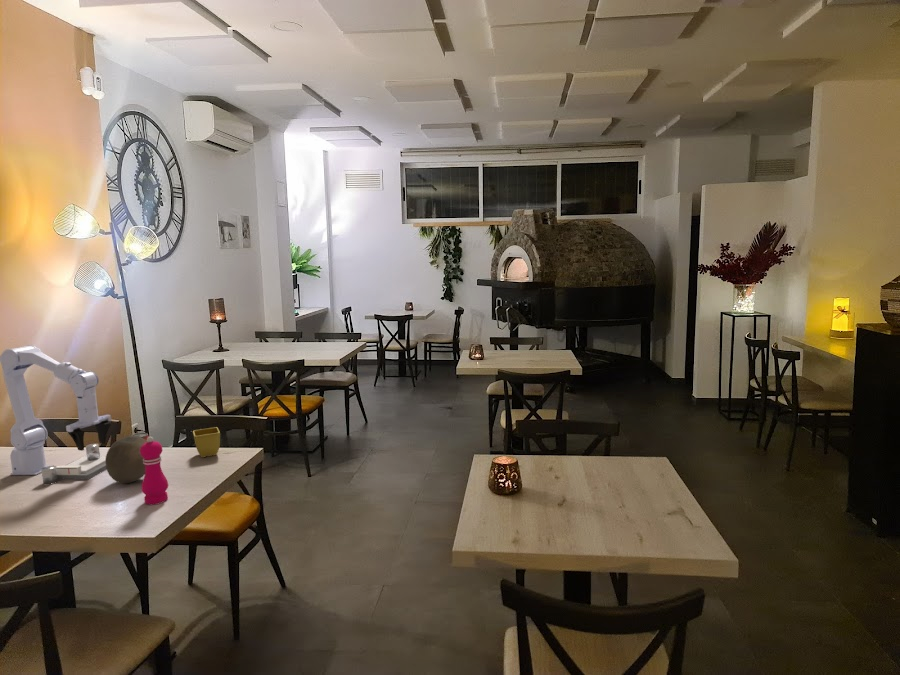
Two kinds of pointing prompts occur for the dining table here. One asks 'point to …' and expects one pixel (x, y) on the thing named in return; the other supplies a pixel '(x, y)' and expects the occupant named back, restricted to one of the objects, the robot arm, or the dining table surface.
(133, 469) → the cantaloupe
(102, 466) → the scale
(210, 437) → the flower pot
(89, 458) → the cylinder
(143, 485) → the pepper mill
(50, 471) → the cylinder
